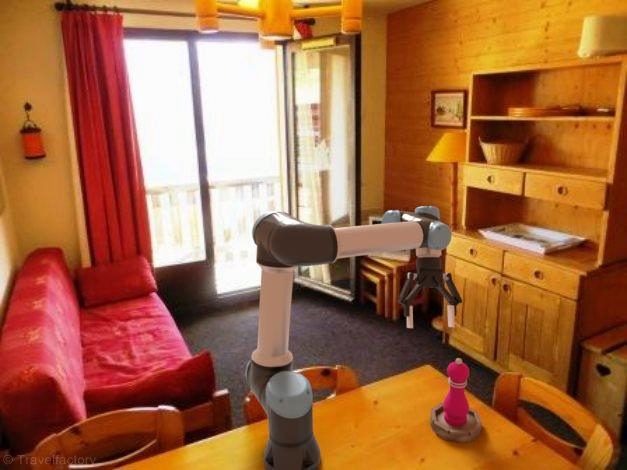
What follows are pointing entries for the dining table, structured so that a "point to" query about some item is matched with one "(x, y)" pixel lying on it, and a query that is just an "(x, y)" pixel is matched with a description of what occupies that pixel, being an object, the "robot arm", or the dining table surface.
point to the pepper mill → (456, 394)
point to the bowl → (451, 432)
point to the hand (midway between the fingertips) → (430, 327)
